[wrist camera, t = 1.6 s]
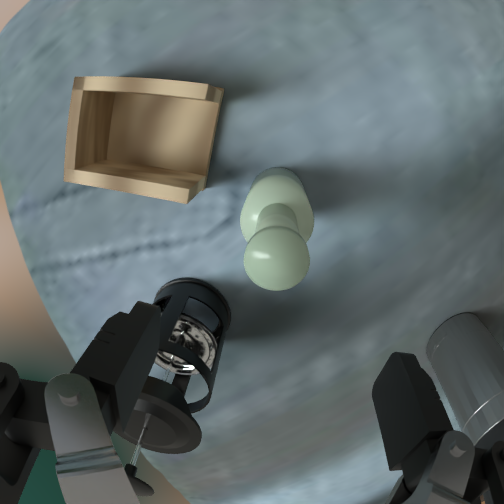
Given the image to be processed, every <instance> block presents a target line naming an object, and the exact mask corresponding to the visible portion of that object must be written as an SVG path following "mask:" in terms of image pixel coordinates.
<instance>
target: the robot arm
mask: <svg viewBox="0 0 504 504" xmlns="http://www.w3.org/2000/svg"><path fill="white" fill-rule="evenodd" d="M160 322H161V308H160V306H156V305H152V304H149V303H145V302H141V301H138V302H137V303H136V304H135V306H134V307H133V309H132V310H131V311H130V313H129V314H127V313H123V312H119V313H117V314H115V315H114V316H112V317H110V318H109V319H108V320H107V321H106V322H105V324H104V325H103V326H102V328H101V330H100V331H99V332H98V333H97V335H96V336H95V338H94V340H92V342H91V343H90V345H89V346H88V348H87V349H86V350H85V352H84V353H83V355H82V356H81V358H80V359H79V361H78V362H77V364H76V365H75V367H74V368H73V370H72V371H71V372H70V373H65V374H60V375H58V376H56V377H54V378H52V379H51V380H50V381H49V382H37V381H31V380H24V379H20V378H19V375H18V373H17V371H16V370H15V368H13V367H12V366H11V365H9V364H7V363H2V362H0V504H18V501H19V499H20V496H21V494H22V491H23V489H24V487H25V484H26V482H27V479H28V477H29V475H30V472H31V470H32V468H33V465H34V463H35V461H36V459H37V456H38V454H39V452H40V450H41V449H46V450H53V451H55V452H56V456H57V463H56V472H57V476H58V480H59V483H60V486H61V490H62V493H63V496H64V499H65V502H66V504H140V503H139V500H138V499H137V496H136V494H135V492H134V490H133V488H132V486H131V484H130V481H129V479H128V477H127V475H126V472H125V470H124V468H123V466H122V463H121V461H120V459H119V456H118V454H117V453H116V451H115V449H114V446H113V444H112V441H111V438H110V436H111V434H112V431H113V430H114V431H117V432H120V433H124V431H125V428H126V426H127V424H128V421H129V419H130V416H131V414H132V412H133V409H134V407H135V405H136V402H137V400H138V398H139V395H140V393H141V391H142V389H143V386H144V384H145V382H146V379H147V377H148V375H149V373H150V370H151V368H152V366H153V364H154V362H155V359H156V357H157V353H158V349H159V343H160ZM427 356H428V359H429V361H430V363H431V365H432V367H433V369H434V371H435V373H436V375H437V378H438V380H439V382H440V384H441V386H442V388H443V390H444V392H445V395H446V397H447V399H448V401H449V404H450V406H451V408H452V410H453V413H454V415H455V417H456V420H457V422H458V424H459V427H460V429H461V432H460V431H456V430H453V427H452V425H451V422H450V420H449V418H448V415H447V413H446V410H445V408H444V406H443V403H442V401H441V400H440V396H439V394H438V392H437V391H436V387H435V385H434V383H433V381H432V379H431V377H430V376H429V375H428V374H427V373H426V372H425V371H424V369H422V368H421V367H420V365H419V362H418V360H417V358H416V356H415V355H414V354H410V353H401V352H394V353H392V354H391V356H390V357H389V359H388V361H387V362H386V364H385V366H384V367H383V369H382V371H381V372H380V374H379V376H378V377H377V379H376V381H375V382H374V385H373V389H372V398H373V402H374V406H375V410H376V414H377V418H378V422H379V426H380V430H381V434H382V439H383V443H384V447H385V452H386V456H387V461H388V466H389V470H390V471H394V470H402V471H403V475H402V476H401V477H400V478H399V479H398V481H397V482H396V484H395V486H394V488H393V490H392V492H391V493H390V495H389V497H388V499H387V500H386V502H385V504H481V500H480V496H481V495H482V494H483V496H484V500H485V504H504V351H503V349H502V348H501V346H500V345H499V344H498V342H497V341H496V340H495V338H494V337H493V336H492V334H491V333H490V332H489V330H488V329H487V328H486V326H484V325H483V324H482V322H481V321H480V320H479V319H478V317H477V316H475V315H474V314H470V313H463V314H459V315H456V316H454V317H452V318H450V319H449V320H447V321H446V322H444V323H443V324H442V325H441V326H440V327H439V328H438V329H437V330H436V331H435V332H434V334H433V335H432V337H431V339H430V341H429V343H428V346H427Z"/></svg>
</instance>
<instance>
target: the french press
mask: <svg viewBox="0 0 504 504" xmlns="http://www.w3.org/2000/svg"><path fill="white" fill-rule="evenodd" d="M171 296H172V297H171ZM168 297H171V299H170V301H169V303H168V304H167V306H166V308H165V310H164V303H165V301H166V299H167V298H168ZM189 297H190V298H193V299H196V300H198V301H200V302H202V303H204V304H205V305H207V306H208V307H209V308H211V309H212V311H213V312H214V313H215V314H216V315H217V316H218V318H219V324H218V326H217V328H216V329H215V330H214V331H213V332H211V331H210V330H209V329H208V328H207V327H206V326H205V325H204V324H203V323H202V322H200V321H199V320H198V319H196V318H194V317H192V316H190V315H188V314H185V313H182V311H183V309H184V307H185V304H186V302H187V300H188V298H189ZM152 305H156V306H160V308H161V322H160V343H159V349H158V353H157V357H156V359H155V363H156V364H157V365H159V366H160V367H162V368H164V369H166V373H165V375H164V378H163V380H160V379H157V378H155V377H151V376H148V377H147V379H146V382H145V384H144V386H143V389H142V391H141V393H140V395H139V398H138V400H137V402H136V405H135V407H134V409H133V412H132V414H131V416H130V419H129V421H128V424H127V426H126V428H125V431H124V433H120V432H117V431H114V430H113V431H114V432H115V433H117V434H118V435H119V436H121V437H122V438H124V439H126V440H127V441H129V442H131V443H133V444H135V445H137V447H136V450H135V453H134V455H133V458H132V460H131V463H130V464H126V465H125V468H124V470H125V472H126V475H127V477H128V479H129V481H130V484H131V486H132V488H133V490H134V492H135V494H136V495H138V496H152V495H153V494H154V490H153V489H152V487H150V486H149V485H148V484H146V483H145V482H143V481H142V480H140V479H138V478H136V477H135V476H136V472H137V468H136V467H135V463H136V460H137V457H138V455H139V452H140V449H141V447H142V448H145V449H148V450H151V451H155V452H160V453H167V454H179V453H186V452H189V451H192V450H194V449H195V448H196V447H197V446H198V445H199V444H200V442H201V438H202V432H201V429H200V426H199V425H198V423H197V422H196V420H195V419H194V418H193V417H192V415H191V413H195V412H198V411H200V410H202V409H203V408H204V407H206V405H207V404H208V403H209V401H210V398H211V395H212V390H213V386H214V382H215V377H216V373H217V369H218V364H219V360H220V356H221V352H222V347H223V343H224V339H225V334H226V331H227V330H228V328H229V325H230V321H231V313H230V308H229V305H228V303H227V301H226V299H225V298H224V296H223V295H222V294H221V293H220V292H219V291H218V290H217V289H216V288H214V287H213V286H212V285H210V284H208V283H206V282H204V281H201V280H198V279H192V278H179V279H175V280H172V281H170V282H168V283H166V284H165V285H164V286H162V287H161V288H160V290H159V291H158V292H157V294H156V297H155V300H154V303H153V304H152ZM211 367H212V368H211ZM210 368H211V371H210ZM169 372H173V373H176V374H175V377H174V379H173V382H172V384H169V383H167V382H166V380H167V377H168V375H169ZM196 374H201V375H202V376H203V378H204V379H205V381H206V383H207V385H208V389H209V393H208V394H207V395H206V397H204V398H203V399H201V400H199V401H197V402H194V403H190V404H187V402H186V400H185V398H184V396H185V393H186V390H187V386H188V383H189V380H190V377H191V375H196Z"/></svg>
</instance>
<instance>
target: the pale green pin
mask: <svg viewBox="0 0 504 504" xmlns="http://www.w3.org/2000/svg"><path fill="white" fill-rule="evenodd" d="M240 225H241V230H242V233H243V235H244V237H245V239H246V241H247V242H248V244H247V246H246V250H245V254H244V267H245V270H246V272H247V274H248V276H249V277H250V279H251V280H252V281H253V282H254V283H255V284H257V285H258V286H260V287H262V288H265V289H268V290H274V291H280V290H286V289H289V288H291V287H294V286H295V285H297V284H298V283H299V282H301V281H302V280H303V278H304V277H305V275H306V274H307V272H308V269H309V265H310V257H309V252H308V247H307V244H306V243H307V241H308V240H309V238H310V236H311V234H312V231H313V227H314V216H313V212H312V209H311V206H310V203H309V201H308V198H307V195H306V193H305V190H304V188H303V185H302V183H301V181H300V179H299V178H298V177H297V176H296V174H294V173H293V172H291V171H290V170H288V169H285V168H280V167H275V168H269V169H266V170H264V171H263V172H261V173H260V174H259V175H258V176H257V177H256V178H255V180H254V181H253V183H252V186H251V188H250V191H249V193H248V196H247V199H246V201H245V204H244V206H243V209H242V212H241V217H240Z"/></svg>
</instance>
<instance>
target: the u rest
mask: <svg viewBox="0 0 504 504" xmlns="http://www.w3.org/2000/svg"><path fill="white" fill-rule="evenodd" d="M223 93H224V89H223V88H218V87H213V86H211V85H209V84H203V83H195V82H186V81H176V80H165V79H152V78H135V77H75V78H74V83H73V89H72V96H71V103H70V110H69V118H68V127H67V137H66V149H65V164H64V181H65V182H71V183H77V184H83V185H89V186H94V187H100V188H106V189H111V190H117V191H122V192H127V193H133V194H138V195H143V196H149V197H154V198H159V199H164V200H169V201H174V202H179V203H184V204H187V203H189V202H190V201H191V200H192V199H193V198H194V197H195V196H196V195H197V194H198V193H199V192H200V191H201V190H202V191H203V190H204V189H205V188H206V182H207V176H208V170H209V165H210V159H211V154H212V148H213V143H214V138H215V133H216V127H217V122H218V117H219V112H220V107H221V103H222V98H223Z"/></svg>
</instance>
